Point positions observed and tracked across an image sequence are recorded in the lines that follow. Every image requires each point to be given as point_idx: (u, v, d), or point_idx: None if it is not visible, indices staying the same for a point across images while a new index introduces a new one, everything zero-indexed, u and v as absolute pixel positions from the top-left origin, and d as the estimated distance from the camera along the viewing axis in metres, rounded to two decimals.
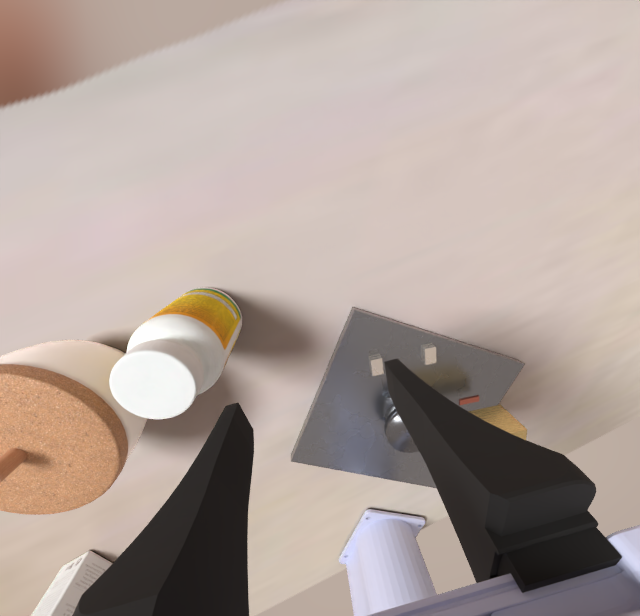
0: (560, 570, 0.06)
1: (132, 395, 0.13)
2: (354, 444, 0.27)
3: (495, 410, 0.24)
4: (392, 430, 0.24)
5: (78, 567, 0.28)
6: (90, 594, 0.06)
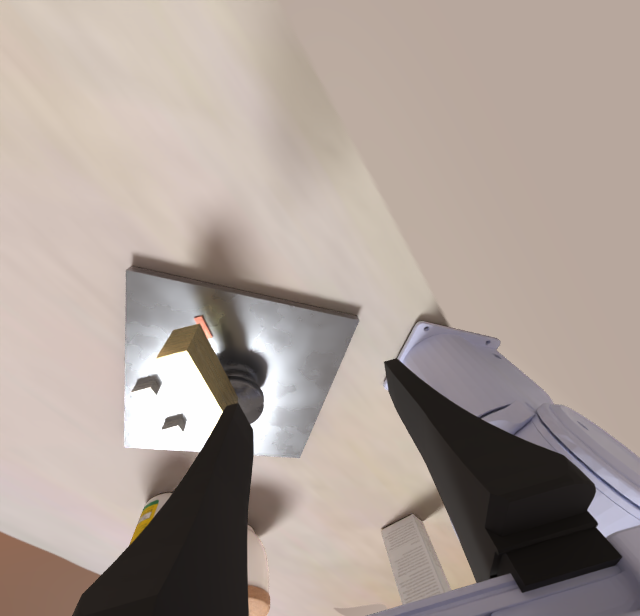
0: (560, 570, 0.06)
1: None
2: (279, 420, 0.26)
3: None
4: None
5: (384, 542, 0.41)
6: (90, 594, 0.06)
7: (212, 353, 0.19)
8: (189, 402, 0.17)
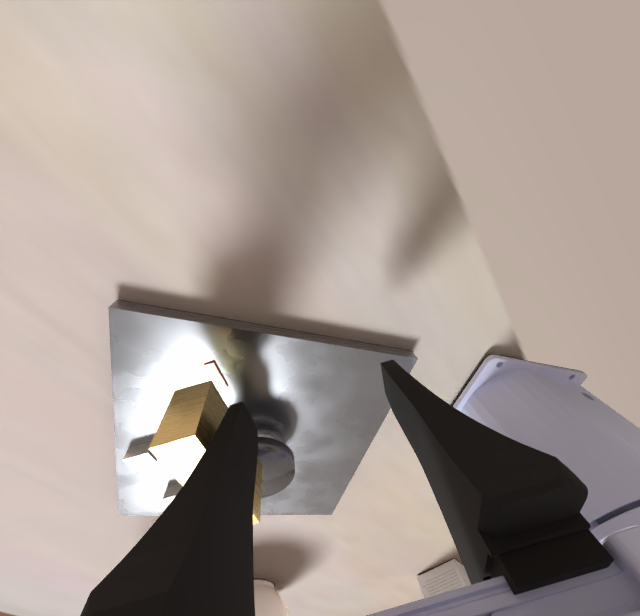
0: (552, 572, 0.06)
1: None
2: (309, 476, 0.21)
3: None
4: None
5: (422, 591, 0.36)
6: (99, 591, 0.06)
7: None
8: None
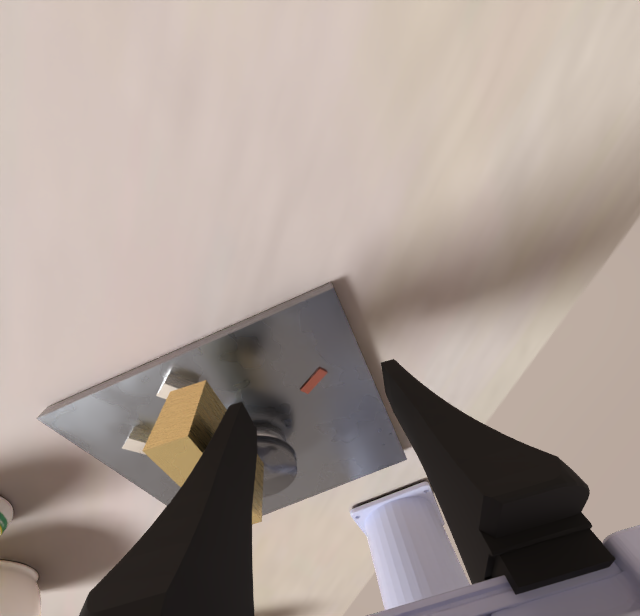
0: (553, 572, 0.06)
1: None
2: None
3: None
4: None
5: None
6: (98, 592, 0.06)
7: None
8: None
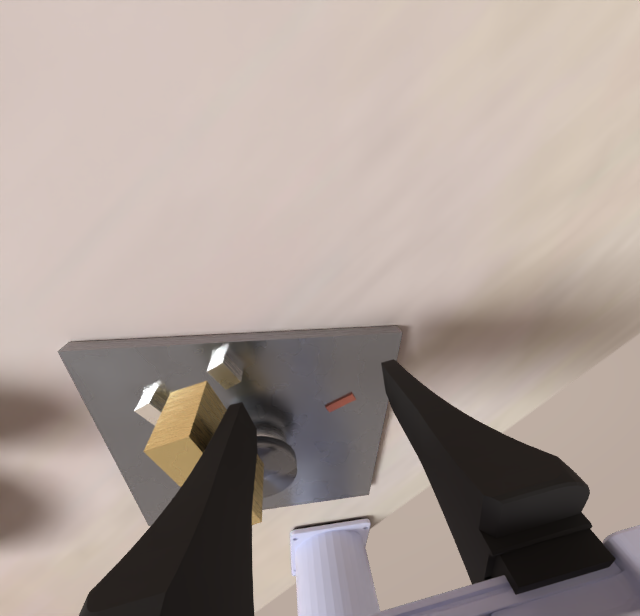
0: (554, 572, 0.06)
1: None
2: None
3: None
4: None
5: None
6: (97, 592, 0.06)
7: None
8: None
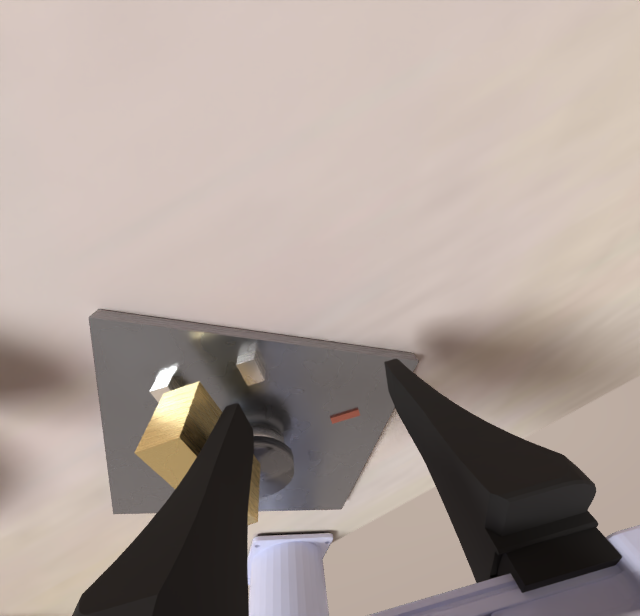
0: (560, 570, 0.06)
1: None
2: None
3: None
4: None
5: None
6: (90, 594, 0.06)
7: None
8: None
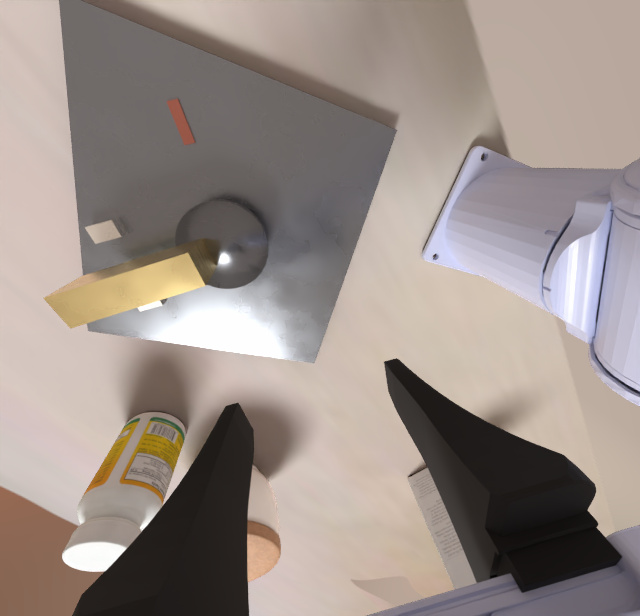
0: (560, 570, 0.06)
1: (111, 563, 0.18)
2: (288, 300, 0.20)
3: None
4: (259, 247, 0.16)
5: (412, 490, 0.35)
6: (90, 594, 0.06)
7: (119, 264, 0.15)
8: (138, 301, 0.14)
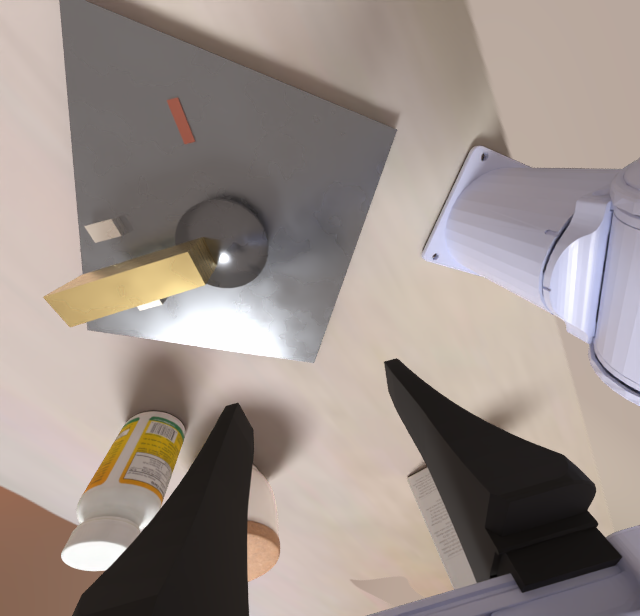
0: (560, 570, 0.06)
1: (110, 562, 0.18)
2: (288, 299, 0.20)
3: None
4: (259, 246, 0.16)
5: None
6: (90, 594, 0.06)
7: (119, 263, 0.15)
8: (137, 300, 0.13)
